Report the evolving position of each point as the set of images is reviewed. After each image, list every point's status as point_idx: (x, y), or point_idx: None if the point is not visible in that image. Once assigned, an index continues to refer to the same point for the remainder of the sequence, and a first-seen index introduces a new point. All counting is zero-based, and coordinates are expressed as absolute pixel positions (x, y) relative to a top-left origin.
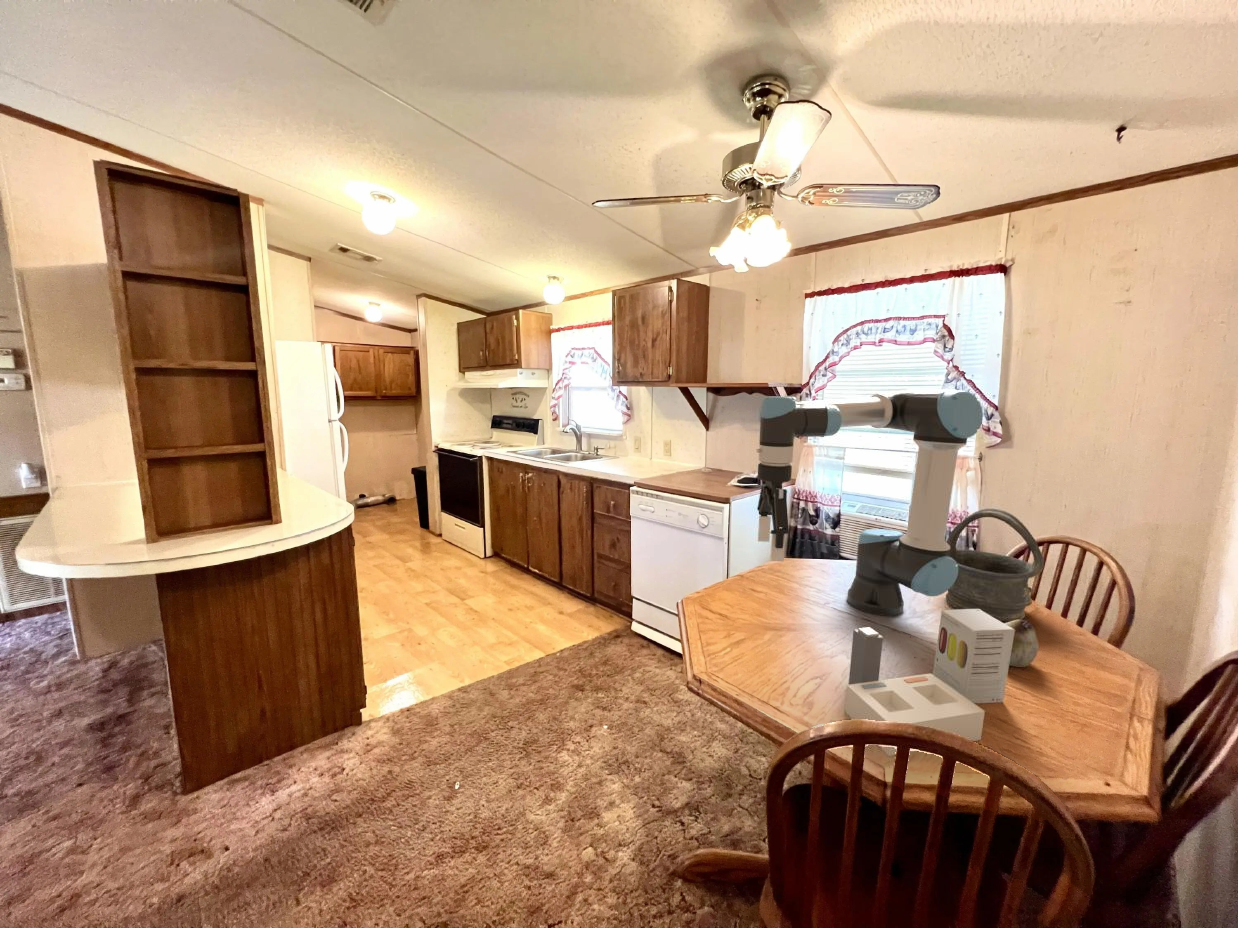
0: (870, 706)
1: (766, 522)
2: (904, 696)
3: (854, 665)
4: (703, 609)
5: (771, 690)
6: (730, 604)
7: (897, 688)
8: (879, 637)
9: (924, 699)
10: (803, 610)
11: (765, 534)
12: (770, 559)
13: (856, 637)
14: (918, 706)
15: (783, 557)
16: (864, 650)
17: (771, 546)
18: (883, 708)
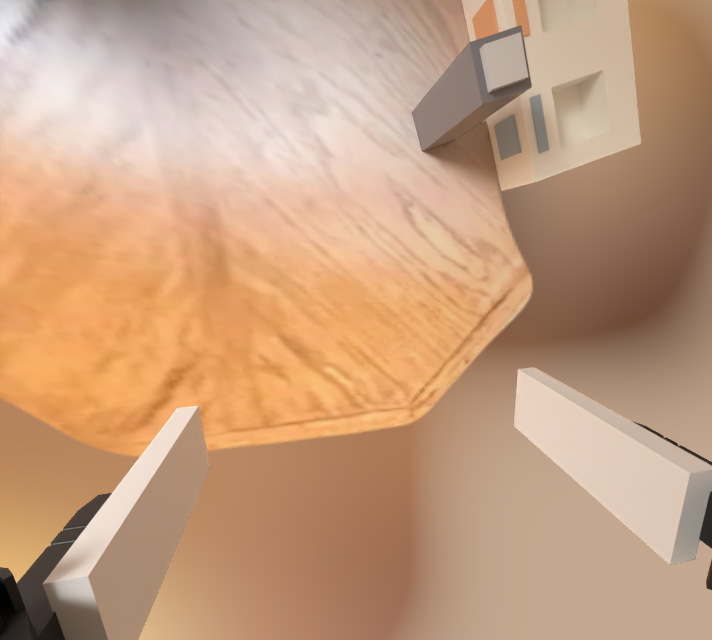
0: (593, 160)
1: (137, 546)
2: (569, 70)
3: (452, 132)
4: (154, 422)
5: (452, 305)
6: (101, 358)
7: (546, 72)
8: (522, 38)
9: (580, 28)
10: (73, 152)
11: (185, 462)
12: (516, 427)
13: (486, 106)
14: (598, 57)
15: (549, 376)
16: (506, 103)
17: (576, 475)
18: (600, 137)
